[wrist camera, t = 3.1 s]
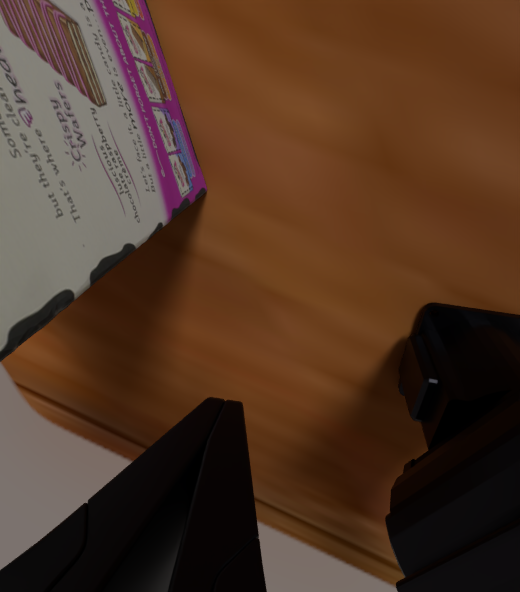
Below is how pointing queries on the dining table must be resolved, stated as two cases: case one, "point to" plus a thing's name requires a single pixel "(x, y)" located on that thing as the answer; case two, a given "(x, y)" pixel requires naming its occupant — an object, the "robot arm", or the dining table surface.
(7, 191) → the candy bar box
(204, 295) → the dining table surface
